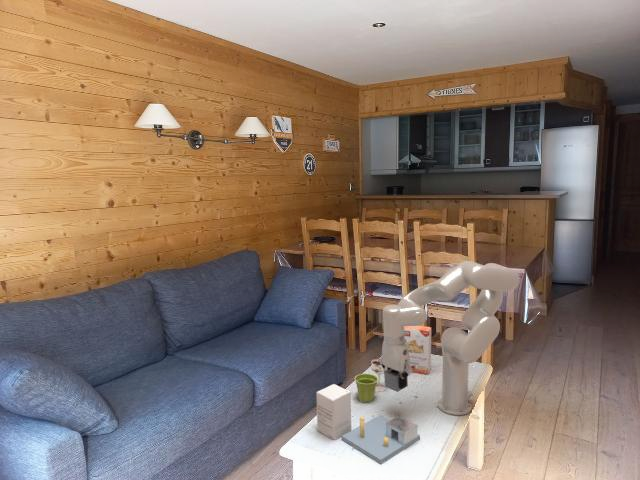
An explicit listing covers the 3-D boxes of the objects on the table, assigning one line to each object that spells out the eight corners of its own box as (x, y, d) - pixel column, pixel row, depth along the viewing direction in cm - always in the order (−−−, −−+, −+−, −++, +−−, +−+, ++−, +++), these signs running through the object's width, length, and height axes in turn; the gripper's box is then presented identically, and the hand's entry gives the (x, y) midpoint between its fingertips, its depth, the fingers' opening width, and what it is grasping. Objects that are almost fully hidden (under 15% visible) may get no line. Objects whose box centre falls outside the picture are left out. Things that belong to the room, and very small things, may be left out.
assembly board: (380, 418, 172) (380, 397, 171) (419, 439, 158) (420, 416, 157) (341, 440, 159) (341, 416, 158) (380, 464, 146) (380, 439, 144)
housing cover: (398, 427, 163) (399, 415, 163) (417, 436, 157) (417, 424, 156) (385, 434, 159) (385, 422, 158) (404, 445, 153) (404, 432, 152)
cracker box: (397, 370, 212) (397, 327, 208) (400, 365, 217) (401, 322, 214) (428, 375, 206) (429, 330, 203) (430, 369, 212) (431, 326, 208)
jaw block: (395, 381, 176) (394, 366, 175) (407, 386, 172) (407, 371, 171) (384, 386, 172) (384, 371, 171) (397, 392, 168) (396, 376, 167)
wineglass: (386, 393, 191) (386, 365, 189) (370, 391, 192) (370, 364, 190) (387, 385, 197) (387, 359, 196) (372, 384, 199) (371, 358, 197)
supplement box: (334, 420, 171) (333, 382, 169) (352, 430, 165) (351, 391, 162) (316, 430, 165) (315, 391, 163) (333, 440, 159) (333, 400, 156)
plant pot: (363, 390, 193) (363, 371, 192) (382, 397, 188) (382, 377, 186) (350, 399, 186) (349, 379, 185) (369, 406, 180) (369, 386, 179)
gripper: (419, 341, 165) (421, 388, 168) (383, 330, 178) (385, 374, 181) (406, 348, 160) (408, 396, 163) (370, 336, 173) (372, 381, 176)
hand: (396, 384), depth 172 cm, fingers closed on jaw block, 6 cm apart
